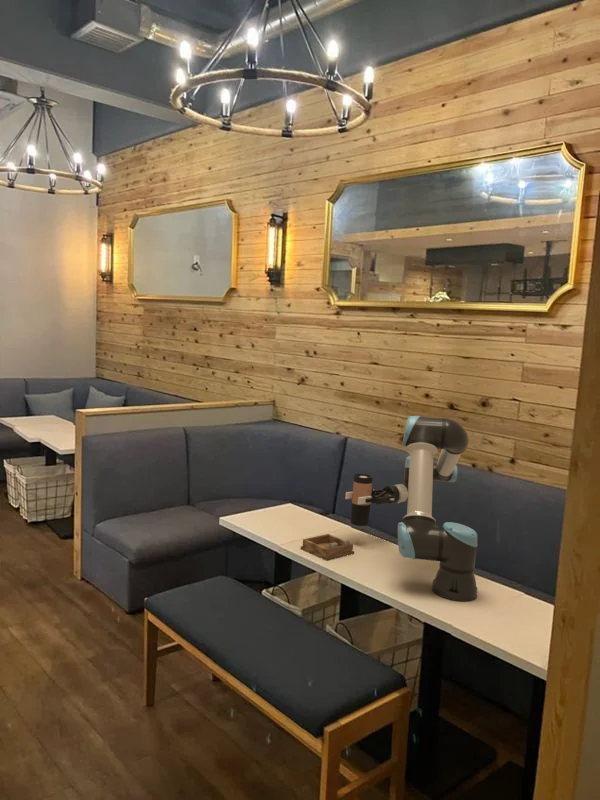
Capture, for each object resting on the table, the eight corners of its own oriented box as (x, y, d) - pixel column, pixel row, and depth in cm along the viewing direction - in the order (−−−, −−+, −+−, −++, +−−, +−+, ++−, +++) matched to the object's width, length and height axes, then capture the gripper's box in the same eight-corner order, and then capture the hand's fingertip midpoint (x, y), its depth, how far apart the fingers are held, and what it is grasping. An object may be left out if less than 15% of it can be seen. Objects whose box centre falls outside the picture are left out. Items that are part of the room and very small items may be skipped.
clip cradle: (354, 553, 247) (355, 539, 246) (326, 560, 237) (327, 546, 237) (327, 542, 258) (328, 529, 258) (300, 548, 248) (301, 534, 248)
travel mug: (347, 523, 256) (351, 475, 254) (354, 519, 263) (358, 472, 261) (364, 527, 253) (368, 479, 251) (371, 523, 260) (375, 475, 258)
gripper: (410, 508, 259) (367, 514, 246) (378, 496, 276) (336, 500, 263) (411, 491, 258) (368, 495, 245) (379, 479, 275) (337, 483, 262)
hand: (352, 498), depth 254 cm, fingers closed on travel mug, 7 cm apart
